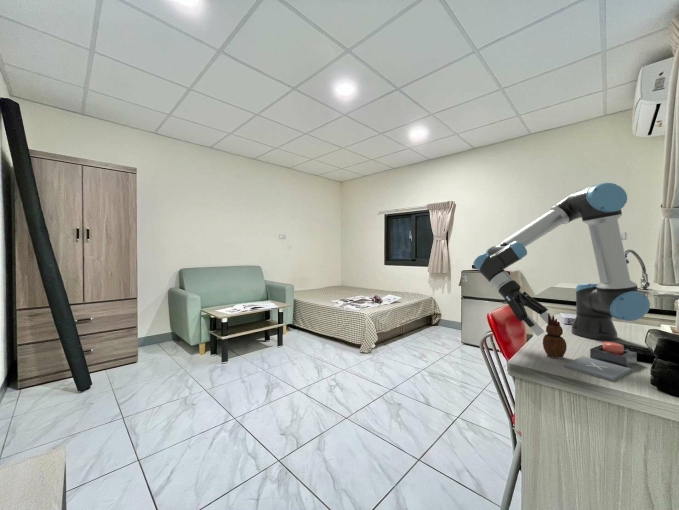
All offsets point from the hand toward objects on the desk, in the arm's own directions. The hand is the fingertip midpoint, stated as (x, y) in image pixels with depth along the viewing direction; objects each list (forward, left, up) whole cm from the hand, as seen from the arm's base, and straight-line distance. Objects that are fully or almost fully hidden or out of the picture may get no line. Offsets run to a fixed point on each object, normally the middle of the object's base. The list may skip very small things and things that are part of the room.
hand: (549, 331), depth 99 cm
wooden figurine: (-1, +1, -9) cm, 9 cm away
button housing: (-13, +13, -9) cm, 20 cm away
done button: (-13, +13, -6) cm, 19 cm away
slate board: (0, +13, -9) cm, 16 cm away
